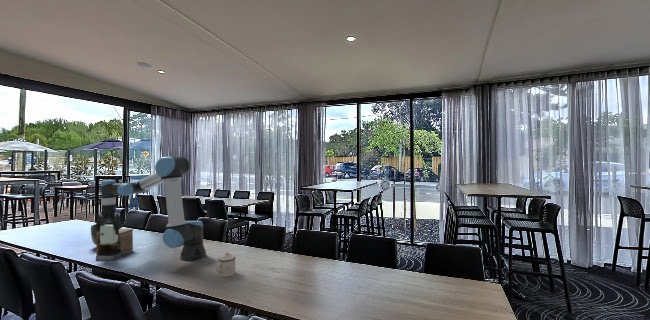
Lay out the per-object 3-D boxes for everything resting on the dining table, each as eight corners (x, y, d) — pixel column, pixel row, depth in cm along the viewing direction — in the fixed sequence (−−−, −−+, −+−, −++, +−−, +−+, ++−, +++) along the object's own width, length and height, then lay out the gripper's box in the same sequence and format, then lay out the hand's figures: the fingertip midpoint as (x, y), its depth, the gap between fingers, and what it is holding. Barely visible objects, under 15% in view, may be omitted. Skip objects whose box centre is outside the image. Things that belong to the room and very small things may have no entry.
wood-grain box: (132, 250, 207) (132, 228, 207) (120, 256, 195) (120, 233, 195) (109, 250, 207) (109, 229, 207) (96, 256, 195) (96, 233, 195)
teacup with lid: (227, 269, 168) (226, 249, 168) (239, 272, 164) (239, 251, 164) (210, 277, 157) (209, 255, 157) (222, 280, 153) (222, 257, 153)
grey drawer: (123, 255, 195) (123, 237, 195) (113, 260, 187) (113, 240, 187) (106, 256, 195) (106, 237, 195) (96, 260, 187) (95, 240, 187)
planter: (84, 248, 213) (84, 226, 213) (108, 242, 229) (108, 221, 229) (102, 250, 208) (102, 227, 208) (125, 243, 224) (125, 222, 224)
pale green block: (117, 241, 192) (117, 224, 192) (111, 243, 187) (111, 226, 187) (105, 241, 192) (104, 224, 192) (99, 244, 187) (99, 226, 187)
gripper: (128, 203, 194) (129, 238, 194) (96, 203, 194) (97, 238, 194) (120, 205, 187) (121, 241, 187) (87, 205, 187) (88, 241, 187)
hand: (108, 239), depth 190 cm, fingers closed on pale green block, 8 cm apart
